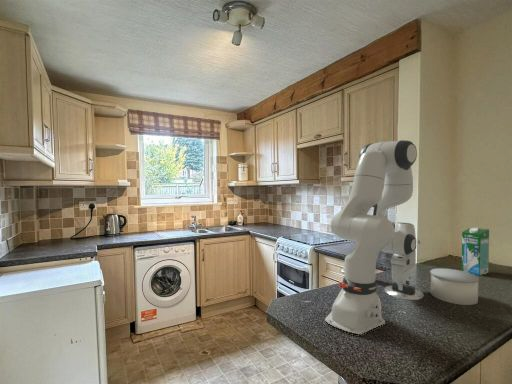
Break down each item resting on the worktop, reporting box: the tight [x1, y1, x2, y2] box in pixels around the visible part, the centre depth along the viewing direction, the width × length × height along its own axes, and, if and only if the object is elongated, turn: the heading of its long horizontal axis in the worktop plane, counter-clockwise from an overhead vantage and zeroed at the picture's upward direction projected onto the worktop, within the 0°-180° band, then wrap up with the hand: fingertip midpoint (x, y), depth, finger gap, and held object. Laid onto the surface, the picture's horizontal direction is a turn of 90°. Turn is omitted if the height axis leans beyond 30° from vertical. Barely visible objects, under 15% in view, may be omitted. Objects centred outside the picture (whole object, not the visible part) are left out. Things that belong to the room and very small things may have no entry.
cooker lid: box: [383, 281, 425, 301], centre depth 126 cm, size 16×16×4 cm
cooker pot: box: [429, 267, 480, 306], centre depth 122 cm, size 18×18×10 cm
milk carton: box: [461, 227, 490, 276], centre depth 155 cm, size 9×9×25 cm
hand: (404, 287), depth 126 cm, fingers open, 8 cm apart
